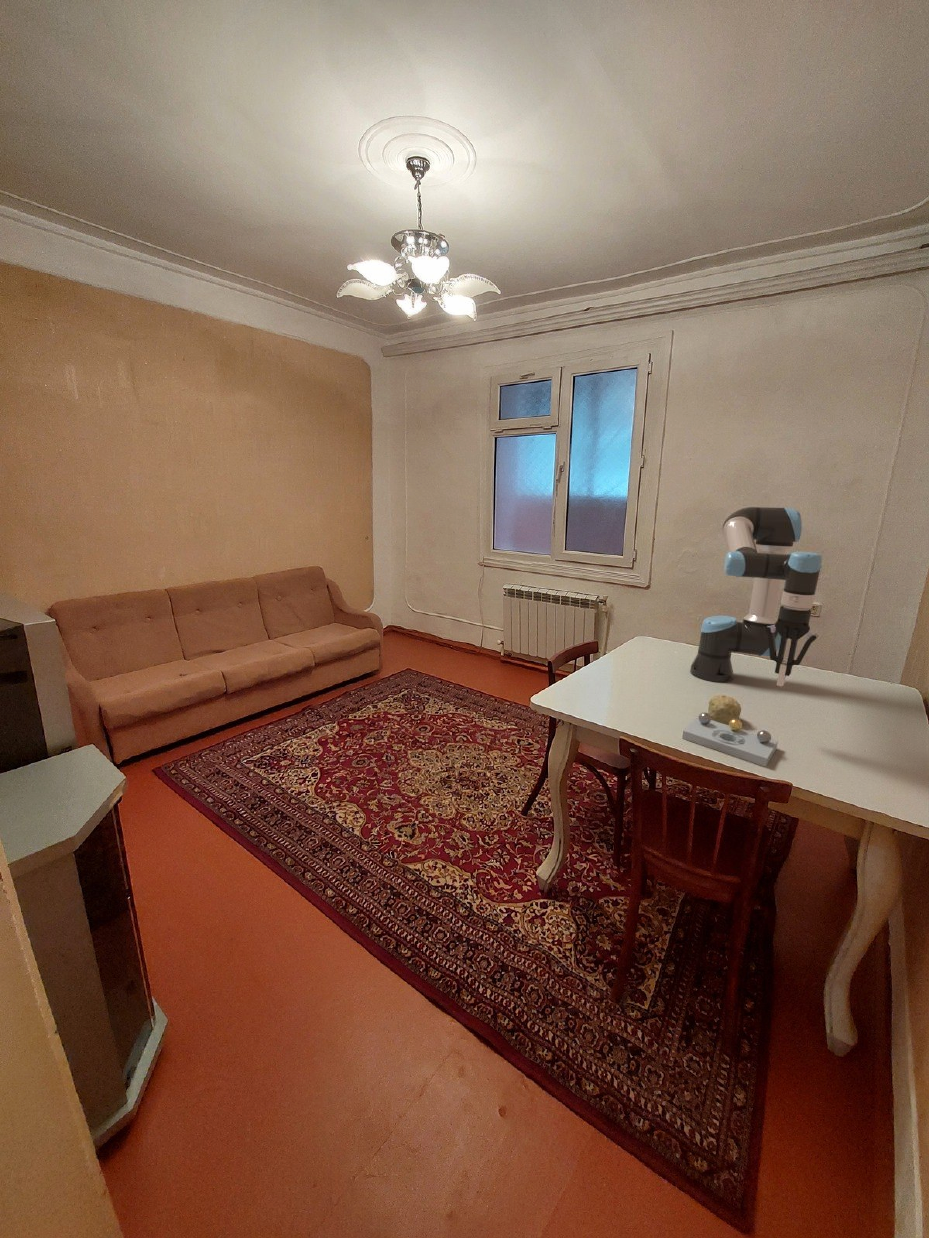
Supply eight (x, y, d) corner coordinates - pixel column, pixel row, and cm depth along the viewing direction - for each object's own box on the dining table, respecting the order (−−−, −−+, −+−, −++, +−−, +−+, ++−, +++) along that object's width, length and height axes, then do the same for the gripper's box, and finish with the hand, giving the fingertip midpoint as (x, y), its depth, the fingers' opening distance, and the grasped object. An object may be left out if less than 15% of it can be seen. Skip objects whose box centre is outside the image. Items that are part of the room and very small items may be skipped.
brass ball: (729, 726, 152) (731, 715, 151) (742, 730, 150) (744, 719, 149) (726, 730, 149) (728, 719, 148) (739, 734, 147) (741, 723, 146)
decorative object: (704, 722, 167) (697, 703, 162) (725, 703, 168) (720, 684, 163) (727, 737, 159) (721, 718, 154) (750, 717, 160) (745, 697, 155)
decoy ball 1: (700, 719, 156) (701, 709, 155) (711, 723, 153) (713, 713, 152) (696, 723, 153) (697, 713, 152) (708, 727, 151) (709, 716, 150)
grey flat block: (697, 723, 159) (698, 716, 158) (776, 748, 145) (778, 740, 144) (682, 738, 149) (683, 730, 149) (765, 766, 135) (767, 758, 135)
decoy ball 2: (757, 737, 145) (759, 726, 144) (771, 742, 143) (773, 731, 142) (754, 742, 143) (756, 731, 142) (768, 746, 141) (770, 735, 140)
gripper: (766, 605, 144) (752, 682, 150) (821, 613, 135) (803, 694, 142) (772, 601, 149) (758, 675, 155) (825, 609, 141) (808, 687, 147)
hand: (780, 684), depth 149 cm, fingers closed
